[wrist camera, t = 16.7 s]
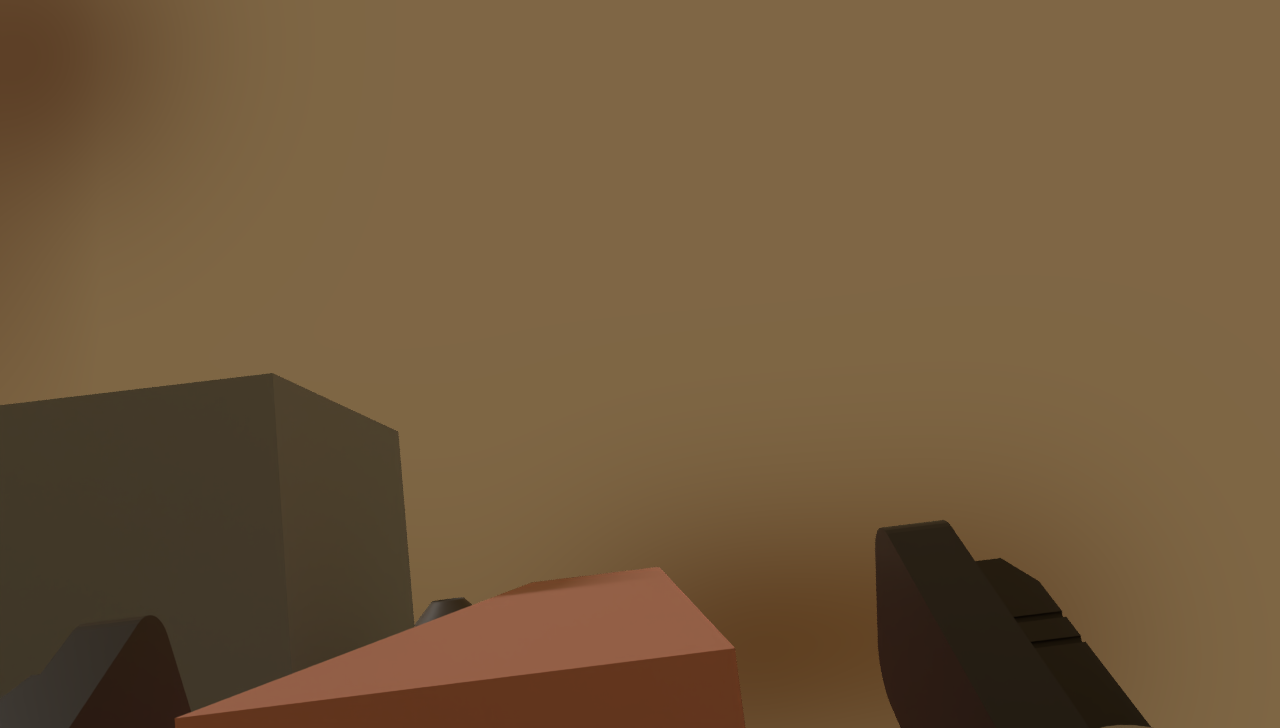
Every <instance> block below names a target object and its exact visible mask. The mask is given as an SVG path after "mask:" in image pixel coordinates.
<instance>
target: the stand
mask: <svg viewBox="0 0 1280 728" xmlns="http://www.w3.org/2000/svg"><path fill="white" fill-rule="evenodd" d="M147 615H153V616H155V617H157V618H158V619H159V620H160V621H161V622H162V624H163V625H164V627H165V629H166V632H167V635H168V638H169V641H170V644H171V647H172V651H173V654H174V657H175V660H176V664H177V667H178V670H179V673H180V677H181V680H182V683H183V687H184V690H185V693H186V696H187V700H188V703H189V706H190V709H191V712H193V711H195V710H198V709H201V708H203V707H206V706H209V705H211V704H214V703H216V702H219V701H222V700H224V699H227V698H230V697H232V696H235V695H238V694H240V693H243V692H245V691H248V690H251V689H253V688H256V687H259V686H261V685H264V684H266V683H269V682H272V681H274V680H277V679H280V678H282V677H285V676H287V675H290V674H293V673H295V672H298V671H301V670H303V669H306V668H308V667H311V666H314V665H316V664H319V663H322V662H324V661H327V660H329V659H332V658H335V657H337V656H340V655H343V654H345V653H348V652H350V651H353V650H356V649H358V648H361V647H364V646H366V645H369V644H372V643H374V642H377V641H379V640H382V639H385V638H387V637H390V636H393V635H395V634H398V633H400V632H403V631H406V630H408V629H411V628H414V616H413V604H412V592H411V579H410V568H409V556H408V544H407V532H406V520H405V508H404V496H403V484H402V472H401V461H400V448H399V436H398V431H396V430H393V429H391V428H389V427H387V426H385V425H383V424H380V423H378V422H376V421H374V420H372V419H370V418H368V417H365V416H363V415H361V414H359V413H357V412H355V411H353V410H350V409H348V408H346V407H344V406H342V405H340V404H338V403H335V402H333V401H331V400H329V399H327V398H325V397H323V396H320V395H318V394H316V393H314V392H312V391H310V390H307V389H305V388H303V387H301V386H299V385H296V384H295V383H292V382H290V381H288V380H286V379H284V378H282V377H280V376H277V375H275V374H272V373H270V374H262V375H254V376H245V377H237V378H228V379H220V380H211V381H204V382H194V383H186V384H177V385H169V386H160V387H152V388H143V389H135V390H127V391H119V392H110V393H102V394H93V395H85V396H76V397H68V398H59V399H50V400H42V401H34V402H26V403H16V404H8V405H0V699H1V698H2V697H3V696H5V695H6V694H7V693H9V692H10V691H11V690H13V689H14V688H15V687H16V686H18V685H19V684H20V683H22V682H23V681H24V680H26V679H27V678H28V677H30V676H31V675H38V674H41V672H42V671H43V670H44V668H45V667H46V666H47V665H48V663H49V662H50V661H51V659H52V658H53V657H54V655H55V654H56V653H57V651H58V650H59V649H60V647H61V646H62V645H63V643H64V642H65V641H66V639H67V638H68V637H69V635H70V634H71V633H72V631H73V630H74V629H75V628H76V627H77V626H79V625H80V624H83V623H89V622H97V621H105V620H114V619H122V618H130V617H138V616H147Z"/></svg>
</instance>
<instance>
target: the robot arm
mask: <svg viewBox="0 0 1280 728" xmlns="http://www.w3.org/2000/svg"><path fill="white" fill-rule="evenodd" d="M875 555H876V591H877V625H878V626H877V627H878V651H879V660H880V666H881V672H882V677H883V681H884V685H885V689H886V693H887V696H888V699H889V701H890V704H891V706H892V709H893V711H894V713H895V716H896V718H897V720H898V722H899V725H900V727H901V728H1152V727H1151V726H1150V725H1149V724H1148V723H1147V721H1146V720H1145V719H1144V717H1143V716H1142V715H1141V713H1140V712H1139V711H1138V710H1137V708H1136V707H1135V706H1134V704H1133V703H1132V702H1131V700H1130V699H1129V698H1128V697H1127V695H1126V694H1125V693H1124V691H1123V690H1122V689H1121V687H1120V686H1119V685H1118V683H1117V682H1116V681H1115V680H1114V678H1113V677H1112V676H1111V674H1110V673H1109V672H1108V671H1107V669H1106V668H1105V667H1104V666H1103V664H1102V663H1101V661H1100V660H1099V659H1098V657H1097V656H1096V655H1095V654H1094V652H1093V651H1092V650H1091V648H1090V647H1089V646H1088V644H1087V643H1086V642H1082V641H1081V636H1080V634H1079V633H1078V631H1076V629H1075V628H1074V626H1073V625H1072V624H1071V622H1070V621H1069V620H1068V619H1067V617H1063V616H1062V611H1061V609H1060V608H1059V607H1058V606H1057V604H1056V603H1055V602H1054V600H1053V599H1052V598H1051V596H1050V595H1049V594H1048V592H1047V591H1046V590H1045V589H1044V587H1043V586H1042V585H1041V583H1040V582H1039V581H1038V580H1036V579H1034V578H1032V577H1031V576H1029V575H1028V574H1026V573H1024V572H1023V571H1021V570H1019V569H1018V568H1016V567H1014V566H1013V565H1011V564H1009V563H1008V562H1006V561H1005V560H1003V559H1001V558H998V559H991V560H982V561H974V559H973V558H972V556H971V555H970V553H969V552H968V550H967V549H966V547H965V546H964V544H963V543H962V541H961V540H960V539H959V537H958V536H957V534H956V533H955V531H954V530H953V528H952V527H951V526H950V524H949V523H948V522H946V521H944V520H940V521H933V522H924V523H916V524H908V525H899V526H892V527H883V528H879V529H878V531H877V534H876V542H875ZM190 712H191V709H190V706H189V703H188V700H187V696H186V693H185V690H184V687H183V683H182V680H181V677H180V673H179V670H178V667H177V664H176V660H175V657H174V654H173V651H172V647H171V644H170V641H169V638H168V635H167V632H166V629H165V627H164V625H163V624H162V622H161V621H160V620H159V619H158V618H157V617H155V616H153V615H147V616H138V617H130V618H122V619H114V620H105V621H97V622H89V623H83V624H80V625H79V626H77V627H76V628H75V629H74V630H73V631H72V633H71V634H70V635H69V637H68V638H67V639H66V641H65V642H64V643H63V645H62V646H61V647H60V649H59V650H58V651H57V653H56V654H55V655H54V657H53V658H52V659H51V661H50V662H49V663H48V665H47V666H46V667H45V668H44V670H43V671H42V672H41V674H38V675H31V676H30V677H28V678H27V679H26V680H24V681H23V682H22V683H20V684H19V685H18V686H16V687H15V688H14V689H13V690H11V691H10V692H9V693H7V694H6V695H5V696H3V697H2V698H1V699H0V728H175V718H177V717H180V716H182V715H185V714H188V713H190Z"/></svg>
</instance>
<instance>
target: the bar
mask: <svg viewBox="0 0 1280 728" xmlns="http://www.w3.org/2000/svg"><path fill="white" fill-rule="evenodd" d="M175 728H745V721H744V714H743V707H742V699H741V691H740V684H739V676H738V669H737V661H736V654H735V648H734V647H733V646H732V645H731V644H730V642H729V641H728V640H727V639H726V638H725V637H724V636H723V635H722V634H721V633H720V632H719V631H718V630H717V629H716V628H715V626H714V625H713V624H712V623H711V622H710V621H709V620H708V619H707V618H706V617H705V616H704V615H703V614H702V613H701V612H700V610H699V609H698V608H697V607H696V606H695V605H694V604H693V603H692V602H691V601H690V600H689V599H688V597H687V596H686V595H685V594H684V593H683V592H682V591H681V590H680V589H679V588H678V587H677V586H676V585H675V584H674V582H673V581H672V580H671V579H670V578H669V577H668V576H667V575H666V574H665V573H664V572H663V571H662V570H661V569H660V568H659V567H654V568H645V569H637V570H629V571H621V572H613V573H605V574H597V575H589V576H582V577H581V576H580V577H572V578H564V579H556V580H548V581H540V582H532V583H529V584H527V585H524V586H522V587H519V588H516V589H514V590H511V591H508V592H506V593H503V594H501V595H498V596H495V597H493V598H490V599H487V600H484V601H482V602H479V603H477V604H474V605H471V606H469V607H466V608H463V609H461V610H458V611H456V612H453V613H450V614H448V615H445V616H442V617H440V618H437V619H435V620H432V621H429V622H427V623H424V624H421V625H419V626H416V627H414V628H411V629H408V630H406V631H403V632H400V633H398V634H395V635H393V636H390V637H387V638H385V639H382V640H379V641H377V642H374V643H372V644H369V645H366V646H364V647H361V648H358V649H356V650H353V651H350V652H348V653H345V654H343V655H340V656H337V657H335V658H332V659H329V660H327V661H324V662H322V663H319V664H316V665H314V666H311V667H308V668H306V669H303V670H301V671H298V672H295V673H293V674H290V675H287V676H285V677H282V678H280V679H277V680H274V681H272V682H269V683H266V684H264V685H261V686H259V687H256V688H253V689H251V690H248V691H245V692H243V693H240V694H238V695H235V696H232V697H230V698H227V699H224V700H222V701H219V702H216V703H214V704H211V705H209V706H206V707H203V708H201V709H198V710H195V711H193V712H190V713H188V714H185V715H182V716H180V717H177V718H175Z"/></svg>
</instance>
